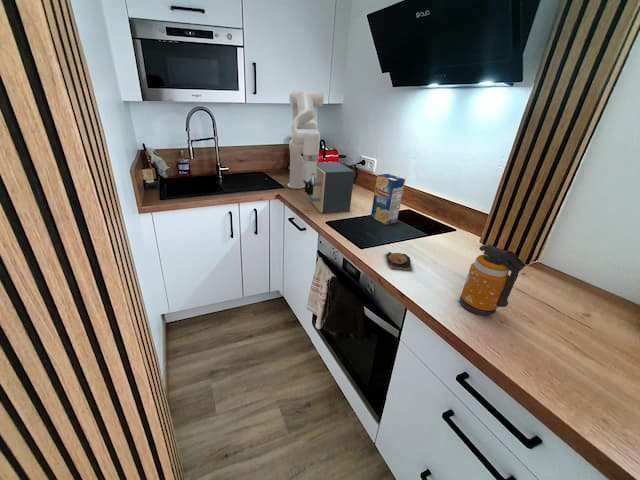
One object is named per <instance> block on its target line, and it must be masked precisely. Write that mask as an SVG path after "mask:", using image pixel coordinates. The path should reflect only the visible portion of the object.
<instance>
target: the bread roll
mask: <svg viewBox="0 0 640 480" xmlns="http://www.w3.org/2000/svg"><path fill="white" fill-rule="evenodd" d="M385 257H386V258H385V259H386V261H387V264H388V266H389V268H390V270H391V269H392V270H402V271H411V272H412V271H413V267H412V264H411V263H412V260H411V257H410V256H409V255H408V254H406V253H401V252H393V253H392V252H391V251H389V252H388V253H386V254H385Z"/></svg>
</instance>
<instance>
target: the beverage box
mask: <svg viewBox="0 0 640 480" xmlns="http://www.w3.org/2000/svg"><path fill="white" fill-rule="evenodd" d="M375 181H376V182H375V188H374V195H373V200H372V206H371V212H370V213H371V215H370V218H372V219H374V220H376V221H377V222H379V223H381V224H383V225H387V226H388V225H392V224H396V223H398V220H399V219H398V218H399V215H400V214H399V213H400V209H401V204H402V198H403V193H404V188H405V184H406V178H403V177H400V176H398V175H397V176H396V175H393V174H390V173H383V174H377V175H376V180H375Z"/></svg>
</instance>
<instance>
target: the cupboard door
mask: <svg viewBox="0 0 640 480" xmlns="http://www.w3.org/2000/svg"><path fill="white" fill-rule="evenodd" d="M325 175H326V173H325V172H324V171H323V170H321V169H320V168H319V167H318V166H317V176H316V181H315V182H314V187H313V195H307V196H308V198H307V200H308V202H309V203H312V204H313V206H314V207H315V208H316V209H317V210H318V212H319V213H320V214H324V213H323V201H324V188H325ZM309 184H310V183H309Z"/></svg>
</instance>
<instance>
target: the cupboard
mask: <svg viewBox="0 0 640 480" xmlns="http://www.w3.org/2000/svg"><path fill="white" fill-rule="evenodd" d="M317 166H318V167H319V168H320V169H321V170H323V171H324V172H325V173H326V175H325V188H324V201H323V213H322V214H334V213H349V212H350V211H351V203H352V195H353V189H354V179H355V170H354V169H352V168H350V167H349V166H347V165H345V164H343V163H342V162H339V161H325V162H323V161H322V162H317Z"/></svg>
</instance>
